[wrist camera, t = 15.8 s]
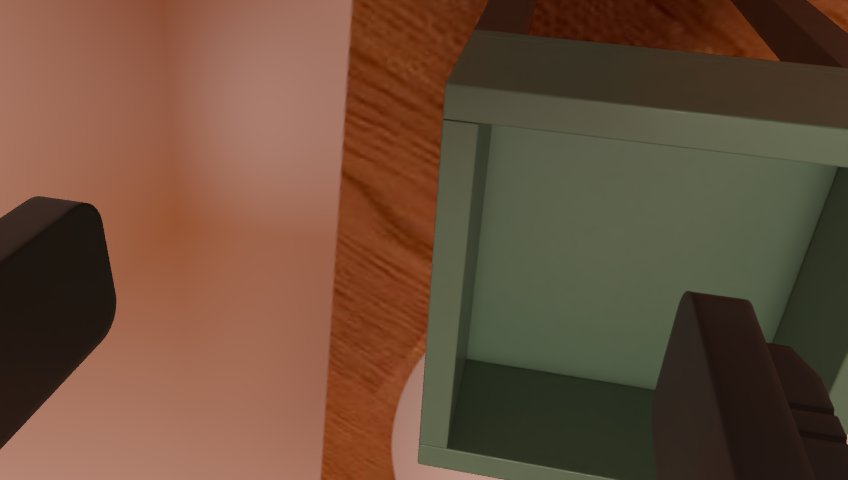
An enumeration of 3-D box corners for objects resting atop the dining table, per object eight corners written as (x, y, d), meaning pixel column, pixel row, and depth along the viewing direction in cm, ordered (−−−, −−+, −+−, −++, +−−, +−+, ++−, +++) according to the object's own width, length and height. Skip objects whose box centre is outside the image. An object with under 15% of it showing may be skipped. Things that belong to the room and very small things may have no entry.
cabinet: (521, -64, 43) (444, 83, 19) (753, -43, 41) (988, 145, 17) (496, 157, 50) (417, 464, 26) (693, 182, 48) (800, 535, 24)
